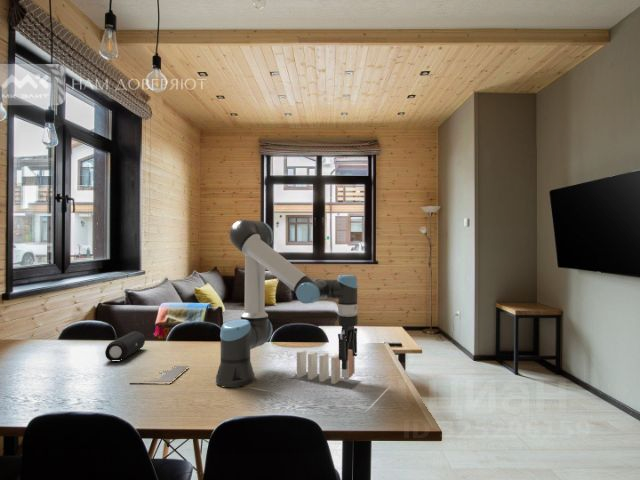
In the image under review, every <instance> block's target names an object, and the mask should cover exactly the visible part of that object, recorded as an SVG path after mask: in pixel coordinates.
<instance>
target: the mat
mask: <svg viewBox="0 0 640 480" xmlns="http://www.w3.org/2000/svg"><path fill="white" fill-rule="evenodd" d="M290 379H291V380H297V381H302V382H306V383H307V382H308V383H314V384H319V385H324V386H328V387H329V386H330V387H336V388H341V389H346V390H351V391H352V390H354V389H355V388H356V387H357V386H358V385H359V384H360V383H362V381H361V380H356V379H351V378H349V379H344V377H340V381H338V382H337V383H336V384H333V383H331V375H329V378H328V379H326V380H325V381H323V382H321V381H319V373H317V377H315V378H313V379H312V380H310V379H308V371H306V375H304V376H302V377H301V378H299V377H297V374H295V375H294V376H292V377H290Z"/></svg>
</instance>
